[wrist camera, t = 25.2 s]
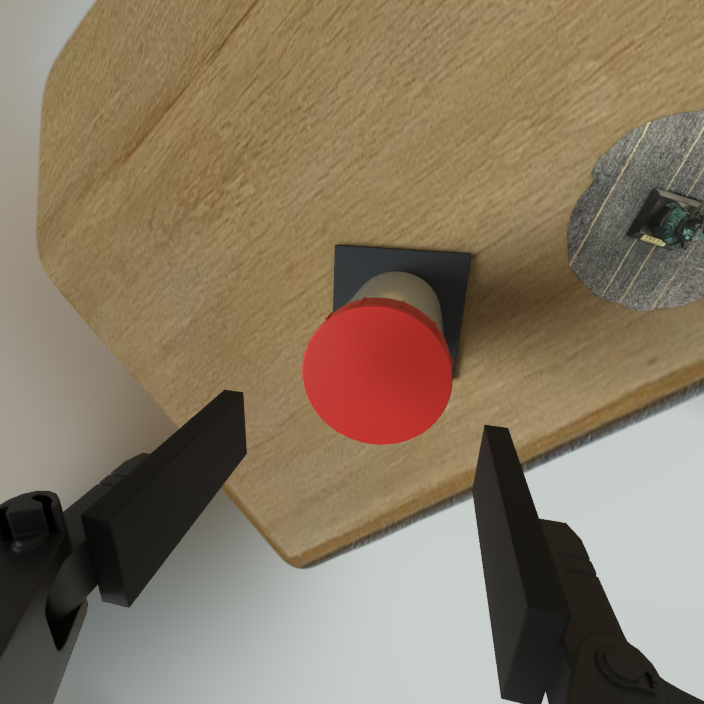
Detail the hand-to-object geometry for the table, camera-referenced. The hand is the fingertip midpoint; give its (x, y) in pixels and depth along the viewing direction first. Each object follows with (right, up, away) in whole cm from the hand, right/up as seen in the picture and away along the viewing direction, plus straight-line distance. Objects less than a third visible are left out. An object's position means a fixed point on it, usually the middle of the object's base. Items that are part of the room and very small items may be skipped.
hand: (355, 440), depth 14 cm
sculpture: (+20, +12, +11) cm, 26 cm away
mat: (+3, +6, +17) cm, 18 cm away
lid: (+1, +2, +5) cm, 6 cm away
